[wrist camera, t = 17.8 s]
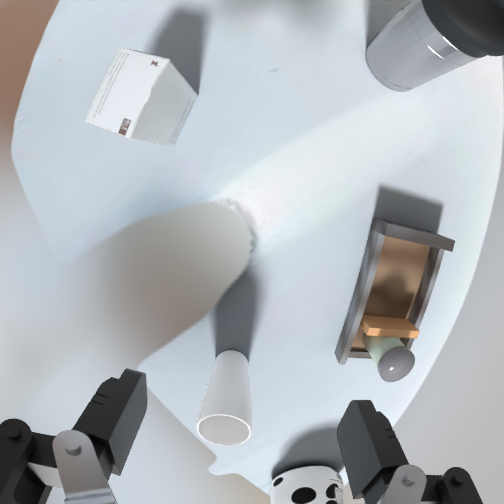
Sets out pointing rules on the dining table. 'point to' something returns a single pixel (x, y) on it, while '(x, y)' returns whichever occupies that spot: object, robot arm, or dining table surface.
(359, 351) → the grey wooden tray
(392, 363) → the jar
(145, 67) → the skincare box
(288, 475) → the milk container
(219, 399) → the drinking glass
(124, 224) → the dining table surface
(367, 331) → the plate
